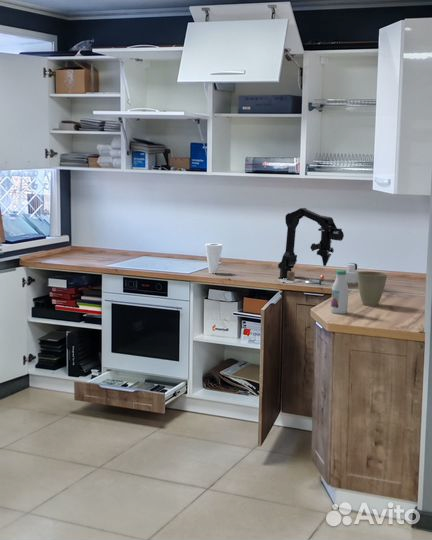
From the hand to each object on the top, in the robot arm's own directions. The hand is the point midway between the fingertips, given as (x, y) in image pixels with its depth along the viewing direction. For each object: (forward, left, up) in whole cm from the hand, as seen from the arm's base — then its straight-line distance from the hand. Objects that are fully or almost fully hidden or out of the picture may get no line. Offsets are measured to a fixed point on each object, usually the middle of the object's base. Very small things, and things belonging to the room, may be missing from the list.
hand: (324, 266), depth 447 cm
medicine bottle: (+7, +17, -11) cm, 22 cm away
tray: (-17, -10, -11) cm, 22 cm away
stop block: (-17, -10, -10) cm, 22 cm away
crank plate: (-3, -4, -11) cm, 12 cm away
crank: (-4, -5, -10) cm, 11 cm away
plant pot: (+50, -34, -11) cm, 62 cm away
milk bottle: (+51, -64, -11) cm, 83 cm away
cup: (-69, -20, -11) cm, 72 cm away
